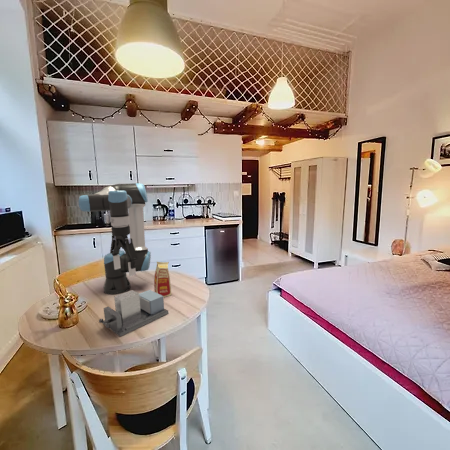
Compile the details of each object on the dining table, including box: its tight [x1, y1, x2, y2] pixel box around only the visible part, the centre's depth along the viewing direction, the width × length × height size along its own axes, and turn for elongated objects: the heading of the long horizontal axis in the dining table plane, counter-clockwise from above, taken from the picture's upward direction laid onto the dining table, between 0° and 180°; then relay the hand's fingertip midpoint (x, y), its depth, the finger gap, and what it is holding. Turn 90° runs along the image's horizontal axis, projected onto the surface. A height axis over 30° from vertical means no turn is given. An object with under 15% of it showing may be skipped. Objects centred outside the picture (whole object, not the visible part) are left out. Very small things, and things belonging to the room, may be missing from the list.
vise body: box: [98, 306, 169, 338], centre depth 121 cm, size 16×29×8 cm, turn 139°
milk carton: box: [153, 261, 172, 298], centre depth 148 cm, size 9×9×20 cm
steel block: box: [113, 289, 141, 325], centre depth 119 cm, size 6×9×12 cm, turn 139°
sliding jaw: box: [139, 289, 165, 315], centre depth 128 cm, size 12×8×7 cm, turn 49°
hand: (124, 272), depth 116 cm, fingers open, 13 cm apart
